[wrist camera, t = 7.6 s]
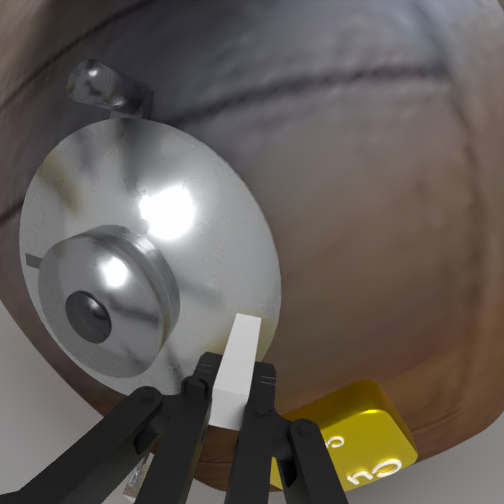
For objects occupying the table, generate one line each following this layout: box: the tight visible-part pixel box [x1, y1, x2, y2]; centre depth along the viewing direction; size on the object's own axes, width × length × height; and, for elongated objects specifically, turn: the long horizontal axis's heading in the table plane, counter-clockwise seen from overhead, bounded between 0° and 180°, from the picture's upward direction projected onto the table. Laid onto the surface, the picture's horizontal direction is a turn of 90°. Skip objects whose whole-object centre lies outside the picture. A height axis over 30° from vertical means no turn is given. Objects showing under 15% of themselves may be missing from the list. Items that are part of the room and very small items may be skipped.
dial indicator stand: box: [123, 449, 151, 503], centre depth 19 cm, size 5×4×12 cm
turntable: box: [19, 59, 281, 396], centre depth 17 cm, size 27×24×6 cm
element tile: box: [270, 380, 418, 492], centre depth 22 cm, size 15×15×5 cm
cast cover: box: [38, 225, 180, 378], centre depth 17 cm, size 10×10×4 cm
